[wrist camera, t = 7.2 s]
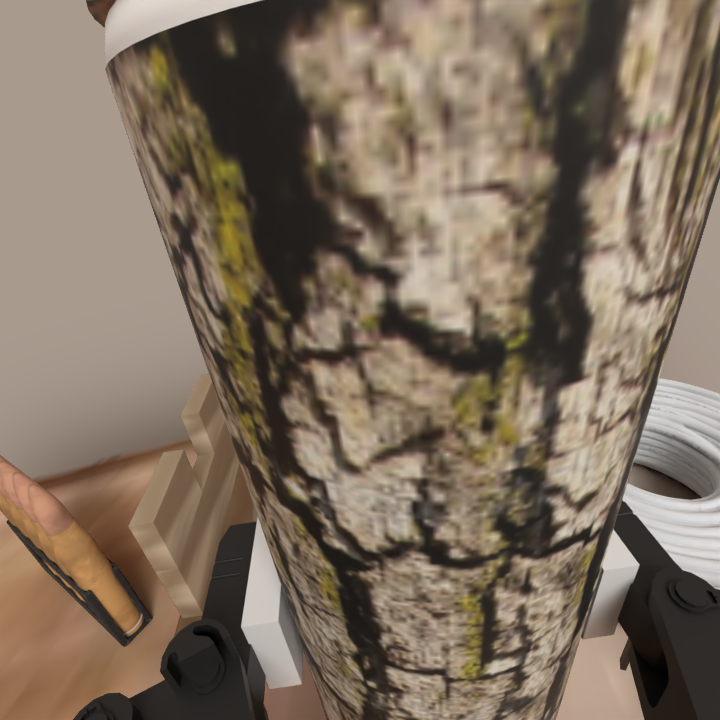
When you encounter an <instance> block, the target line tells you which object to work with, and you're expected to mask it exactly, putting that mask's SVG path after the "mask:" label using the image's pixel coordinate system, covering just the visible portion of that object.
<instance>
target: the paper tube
mask: <svg viewBox="0 0 720 720" xmlns="http://www.w3.org/2000/svg"><path fill="white" fill-rule="evenodd" d="M86 2H87V6H88V10H89V11H90V13H91V14H92V16H93V17H94V19H95V20H96V21H98V22H99V23H100V24H101V25H102V26H103V27H105V59H106V65H107V66H106V73H107V76H108V79H109V82H110V85H111V88H112V91H113V93H114V97H115V99H116V102H117V105H118V108H119V111H120V114H121V117H122V120H123V123H124V126H125V129H126V132H127V135H128V138H129V140H130V144H131V146H132V149H133V152H134V155H135V158H136V161H137V164H138V167H139V170H140V173H141V176H142V178H143V182H144V185H145V187H146V190H147V193H148V196H149V199H150V202H151V205H152V208H153V211H154V214H155V217H156V220H157V223H158V225H159V228H160V231H161V234H162V237H163V240H164V243H165V246H166V249H167V252H168V254H169V258H170V261H171V264H172V266H173V269H174V272H175V275H176V278H177V281H178V284H179V287H180V290H181V293H182V296H183V299H184V302H185V304H186V307H187V311H188V313H189V316H190V319H191V322H192V325H193V328H194V331H195V334H196V337H197V340H198V343H199V345H200V349H201V352H202V354H203V357H204V360H205V363H206V366H207V369H208V372H209V375H210V378H211V381H212V384H213V387H214V390H215V393H216V395H217V398H218V401H219V404H220V407H221V410H222V413H223V416H224V419H225V422H226V425H227V428H228V431H229V434H230V436H231V439H232V442H233V445H234V448H235V451H236V454H237V457H238V460H239V463H240V466H241V469H242V472H243V474H244V477H245V480H246V483H247V486H248V489H249V492H250V495H251V498H252V501H253V504H254V507H255V510H256V513H257V515H258V518H259V521H260V524H261V527H262V530H263V533H264V536H265V539H266V542H267V545H268V548H269V551H270V554H271V556H272V559H273V562H274V565H275V568H276V571H277V574H278V577H279V580H280V583H281V586H282V589H283V592H284V595H285V597H286V600H287V603H288V606H289V609H290V612H291V615H292V618H293V621H294V624H295V627H296V630H297V633H298V636H299V638H300V641H301V644H302V647H303V650H304V653H305V656H306V659H307V662H308V665H309V668H310V671H311V674H312V677H313V679H314V682H315V685H316V688H317V691H318V694H319V697H320V700H321V703H322V706H323V709H324V712H325V715H326V718H327V720H556V717H557V713H558V710H559V707H560V704H561V700H562V697H563V694H564V690H565V687H566V684H567V680H568V677H569V674H570V671H571V667H572V664H573V661H574V657H575V654H576V651H577V647H578V644H579V641H580V638H581V634H582V631H583V628H584V624H585V621H586V618H587V614H588V611H589V608H590V605H591V601H592V598H593V595H594V591H595V588H596V585H597V581H598V578H599V575H600V572H601V568H602V565H603V562H604V558H605V555H606V552H607V548H608V545H609V542H610V539H611V535H612V532H613V529H614V525H615V522H616V519H617V515H618V512H619V509H620V506H621V502H622V499H623V496H624V492H625V489H626V486H627V482H628V479H629V476H630V473H631V469H632V466H633V463H634V459H635V456H636V453H637V449H638V446H639V443H640V440H641V436H642V433H643V430H644V426H645V423H646V420H647V416H648V413H649V410H650V407H651V403H652V400H653V397H654V393H655V390H656V387H657V383H658V380H659V377H660V374H661V370H662V367H663V364H664V360H665V357H666V354H667V350H668V347H669V344H670V340H671V337H672V334H673V330H674V327H675V324H676V321H677V317H678V314H679V311H680V307H681V304H682V301H683V298H684V294H685V291H686V288H687V284H688V281H689V278H690V275H691V271H692V268H693V265H694V261H695V258H696V255H697V252H698V248H699V245H700V242H701V238H702V235H703V232H704V228H705V225H706V222H707V219H708V215H709V212H710V209H711V205H712V202H713V199H714V195H715V192H716V189H717V185H718V182H719V179H720V0H86Z"/></svg>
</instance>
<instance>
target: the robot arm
mask: <svg viewBox="0 0 720 720" xmlns="http://www.w3.org/2000/svg"><path fill="white" fill-rule="evenodd" d="M211 577H212V580H210V584H209V589H208V593H207V597H206V601H205V606H204V610H203V614H202V619H201V620H199V621H195V622H192V623H191V624H189V625H188V626H186V627H185V628H183V629H182V630H180V631H179V632H178V634H177V635H176V636H175V637H174V638H173V639H172V640H171V642H170V643H169V645H168V647H167V649H166V651H165V653H164V655H163V657H162V662H161V669H160V672H161V674H162V675H163V677H164V678H165V680H163V681H162V682H160V683H158V684H156V685H154V686H153V687H151V688H149V689H147V690H145V691H143V692H141V693H139V694H137V695H135V696H133V697H131V698H127V697H126V696H124V695H122V694H121V693H107V694H105V695H103V696H101V697H99V698H96V699H94V700H93V701H91V702H90V703H89V704H88V705H87V706H85V707H84V708H83V709H82V710H81V711H79V713H78V714H77V715H76V717H75V718H74V719H73V720H269V719H268V715H267V711H266V709H265V706H264V704H263V702H264V691H265V680H266V682H267V684H268V686H269V688H270V689H276V688H282V687H288V686H295V685H301V684H302V663H303V647H302V644H301V641H300V638H299V636H298V633H297V630H296V627H295V624H294V621H293V618H292V615H291V612H290V609H289V606H288V603H287V600H286V597H285V595H284V592H283V589H282V586H281V583H280V580H279V577H278V574H277V571H276V568H275V565H274V562H273V559H272V556H271V554H270V551H269V548H268V545H267V542H266V539H265V536H264V533H263V530H262V527H261V524H260V521H259V518H257V522H250V523H243V524H237V525H230V527H229V528H228V530H227V531H226V533H225V534H224V536H223V538H222V539H221V541H220V542H219V546H218V550H217V554H216V559H215V565H214V567H213V572H212V576H211ZM618 621H619V623H620V624H621V626H622V628H623V629H624V631H625V633H626V634H627V636H628V637H629V638H628V641H627V643H626V646H625V648H624V650H623V653H622V655H621V658H620V669H621V670H626V669H627V666H628V664H629V662H630V666H631V669H632V673H633V677H634V681H635V685H636V689H637V692H638V696H639V700H640V704H641V708H642V712H643V715H644V719H645V720H720V590H719V589H715V588H714V587H713V586H711V585H710V584H709V583H708V582H707V581H706V580H704V579H702V578H700V577H698V576H697V575H695V574H693V573H691V572H687V571H684V570H682V569H681V568H680V567H679V566H678V565H677V564H676V563H675V562H674V560H673V559H672V558H671V557H670V556H669V554H668V553H667V552H666V551H665V550H664V548H663V547H662V546H661V545H660V543H659V542H658V541H657V540H656V539H655V537H654V536H653V535H652V534H651V533H650V531H649V530H648V529H647V528H646V526H645V525H644V524H643V523H642V522H641V520H640V519H639V518H638V517H637V516H636V514H635V515H634V514H633V511H632V509H631V508H630V507H629V506H628V505H627V503H626V502H623V500H622V502H621V506H620V509H619V512H618V515H617V519H616V522H615V525H614V529H613V532H612V535H611V539H610V542H609V545H608V548H607V552H606V555H605V558H604V562H603V565H602V568H601V572H600V575H599V578H598V581H597V585H596V588H595V591H594V595H593V598H592V601H591V605H590V608H589V611H588V614H587V618H586V621H585V624H584V628H583V631H582V634H581V637H582V639H589V638H595V637H601V636H607V635H613V634H614V632H615V629H616V626H617V624H618Z"/></svg>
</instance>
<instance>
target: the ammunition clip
mask: <svg viewBox="0 0 720 720" xmlns="http://www.w3.org/2000/svg"><path fill="white" fill-rule="evenodd" d="M0 510H1V511H2V512H3V514H4V515H5V516H6V517H7V519H8V521H7V524H8V525H9V526H10V527H11V529H12V530H13V531H14V532H15V534H16V535H17V536H18V537H19V539H20V540H21V541H22V542H23V543H24V545H25V546H26V547H27V548H28V550H29V551H30V552H31V553H32V555H33V556H34V557H35V558H36V560H37V561H38V562H39V563H40V565H41V566H42V567H43V568H44V569H45V570H46V571H47V572H48V573H49V574H50V575H51V576H52V577H53V578H54V579H55V580H56V581H57V582H58V583H59V584H60V585H61V586H62V587H63V588H64V589H65V590H66V591H67V592H68V593H69V594H70V595H71V596H72V597H73V598H74V599H75V600H76V601H77V602H78V603H79V604H80V605H82V606H83V607H84V608H85V609H86V610H87V611H88V612H89V613H90V614H91V615H92V616H93V617H94V618H95V619H96V620H97V621H98V622H99V623H100V624H101V625H102V626H103V627H104V628H105V629H106V630H107V631H108V632H109V633H110V634H111V635H112V636H113V637H114V638H115V639H116V640H117V641H118V642H119V643H120V644H121V645H122V646H123V647H124V646H127V645H128V644H129V643H130V642H131V641H132V639H133V638H134V637H135V636H136V635H137V634H138V633H139V632H140V631H141V630H142V629H143V628H144V627H145V626H146V625H147V624H148V623H149V622H150V621H151V620H152V617H151V615H150V614H149V612H148V611H147V609H146V608H145V606H144V605H143V604H142V602H141V601H140V599H139V598H138V596H137V595H136V593H135V592H134V590H133V589H132V587H131V586H130V584H129V583H128V581H127V580H126V578H125V577H124V575H123V574H122V572H121V571H120V569H119V568H118V566H116V565H115V564H114V563H113V562H111V561H110V560H109V559H108V558H106V556H105V555H104V553H103V552H102V550H101V549H100V547H99V546H98V545H97V543H96V542H95V540H94V539H93V537H92V536H91V535H90V534H89V533H88V532H87V531H86V530H84V529H83V528H82V527H81V526H80V525H79V524H78V522H77V521H76V520H75V519H74V517H72V516H71V514H70V513H69V512H68V510H67V509H66V508H65V506H64V505H63V504H62V503H61V502H60V501H59V500H58V499H57V498H56V497H55V496H53V495H52V494H51V493H50V492H48V491H47V490H45V489H44V488H42V487H41V486H40V485H39V484H38V483H36V482H35V481H34V480H32V479H31V478H30V477H28V476H26V475H25V474H24V473H23V472H22V471H21V470H19V469H18V468H16V467H15V466H14V465H12V464H11V463H10V462H8V461H7V460H6V459H4V458H3V457H2V456H0Z"/></svg>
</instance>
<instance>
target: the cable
mask: <svg viewBox="0 0 720 720" xmlns="http://www.w3.org/2000/svg"><path fill="white" fill-rule="evenodd" d="M634 463H636V464H640V465H644V466H647V467H649V468H652V469H655V470H657V471H659V472H662V473H664V474H666V475H668V476H670V477H672V478H674V479H676V480H678V481H679V482H681V483H683V484H684V485H686V486H687V487H689V488H690V489H692V490H693V491H694V492H696V493H697V494H698V495H700V496H701V497H702V498H700V499H693V500H687V499H678V498H672V497H666V496H662V495H658V494H654V493H651V492H648V491H645V490H643V489H640V488H638V487H635V486H633V485H631V484H629V483H627V486H626V489H625V492H624V496H623V499H622V500H623V502H626V503H627V505H628V506H629V507H630V508H631V509H632V511H633V514H634V515H635V514H636V516H637V517H638V518H639V519H640V520H641V522H642V523H643V524H644V525H645V526H646V528H647V529H648V530H649V531H650V533H651V534H652V535H653V536H654V537H655V539H656V540H657V541H658V542H659V543H660V545H661V546H662V547H663V548H664V550H665V551H666V552H667V553H668V554H669V556H670V557H671V558H672V559H673V560H674V562H675V563H676V564H677V565H678V566H679V567H680V568H681V569H682V570H684V571H687V572H691V573H693V574H695V575H697V576H698V577H700V578H702V579H704V580H706V581H707V582H708V583H709V584H710V585H711V586H713V587H714V588H715V589H719V590H720V394H718V393H715V392H712V391H709V390H706V389H703V388H700V387H696V386H692V385H689V384H685V383H681V382H677V381H673V380H667V379H660V378H659V380H658V383H657V387H656V390H655V393H654V397H653V400H652V403H651V407H650V410H649V413H648V416H647V420H646V423H645V426H644V430H643V433H642V436H641V440H640V443H639V446H638V449H637V453H636V456H635V459H634ZM618 622H619V621H618Z"/></svg>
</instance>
